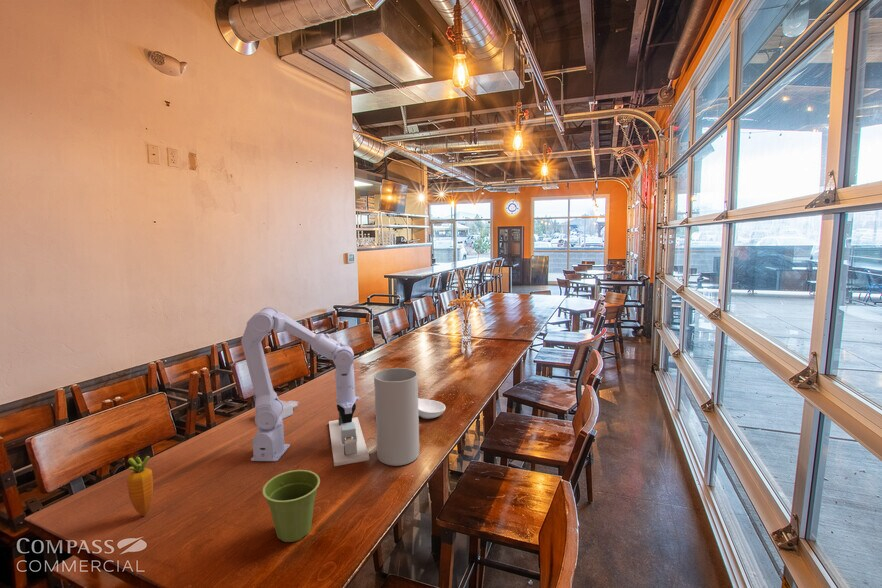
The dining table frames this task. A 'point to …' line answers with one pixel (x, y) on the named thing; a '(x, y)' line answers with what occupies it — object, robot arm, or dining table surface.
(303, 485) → the plant pot
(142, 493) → the carrot
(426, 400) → the spoon rest
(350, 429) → the light grey sliding block
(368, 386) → the dining table surface
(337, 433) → the white slide rail base
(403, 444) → the cylinder vase
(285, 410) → the charger
